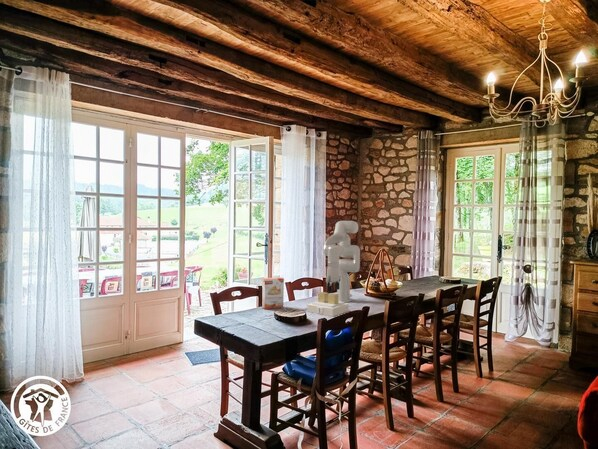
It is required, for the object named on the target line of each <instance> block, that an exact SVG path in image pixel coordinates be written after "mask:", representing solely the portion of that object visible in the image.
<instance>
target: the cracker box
mask: <svg viewBox="0 0 598 449" xmlns="http://www.w3.org/2000/svg"><path fill="white" fill-rule="evenodd" d="M284 281H285V278H284V277H280V276H279V277H263V278H262V297H261V298H262V302H261V304H262V306H261V308H263V310H271V309H272V310H273V309H281V308H280V307H283V308H284V295H285V294H284V293H285V292H284V290H285V288H284V287H285V286H284V285H285V282H284Z"/></svg>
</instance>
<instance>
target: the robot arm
mask: <svg viewBox="0 0 598 449" xmlns="http://www.w3.org/2000/svg"><path fill="white" fill-rule="evenodd" d="M334 225H335V226H334V227H335V228H334V231H333V234H331V235H330V236H329V237H328V238H326V240H325V242H324V245H323V249H322V253H323V254H324V256H327V267H326V268H327V269H326V277H325V283H326V291H327V293H332V291H333V290H332V288H333V286H332V284H333V283H334V289H335V290H336V294H339V298H338V301H340V302H345V303H350V302H352V301H353V299H352V298H351V297H353V295H352V294H351V278H350V275H349V273H358V272H360V264H361V263H360V262H361V250H360V247H359V246H358V245H356V244H351V237H350V235H349V234H356V233H357V232H358V231H359V224H358V222H357V221H354V220H340V221H337V222H336V223H335V224H334ZM340 257H341V258H342V259H340ZM345 258H346V259H345ZM348 258H350V259H348Z"/></svg>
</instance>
